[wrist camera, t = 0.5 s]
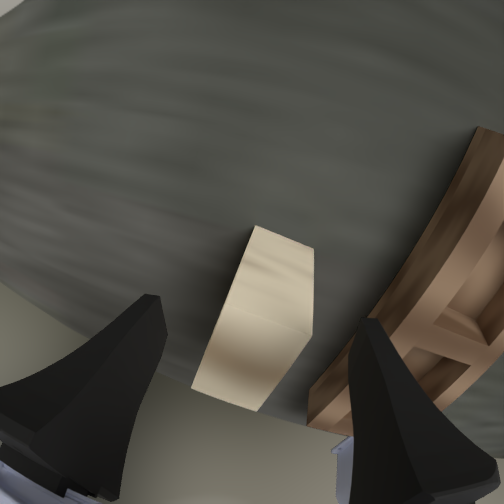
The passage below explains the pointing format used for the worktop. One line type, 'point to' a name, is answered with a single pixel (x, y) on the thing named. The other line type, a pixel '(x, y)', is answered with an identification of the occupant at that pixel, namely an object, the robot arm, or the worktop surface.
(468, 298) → the wooden compartment tray
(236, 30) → the worktop surface
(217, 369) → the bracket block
